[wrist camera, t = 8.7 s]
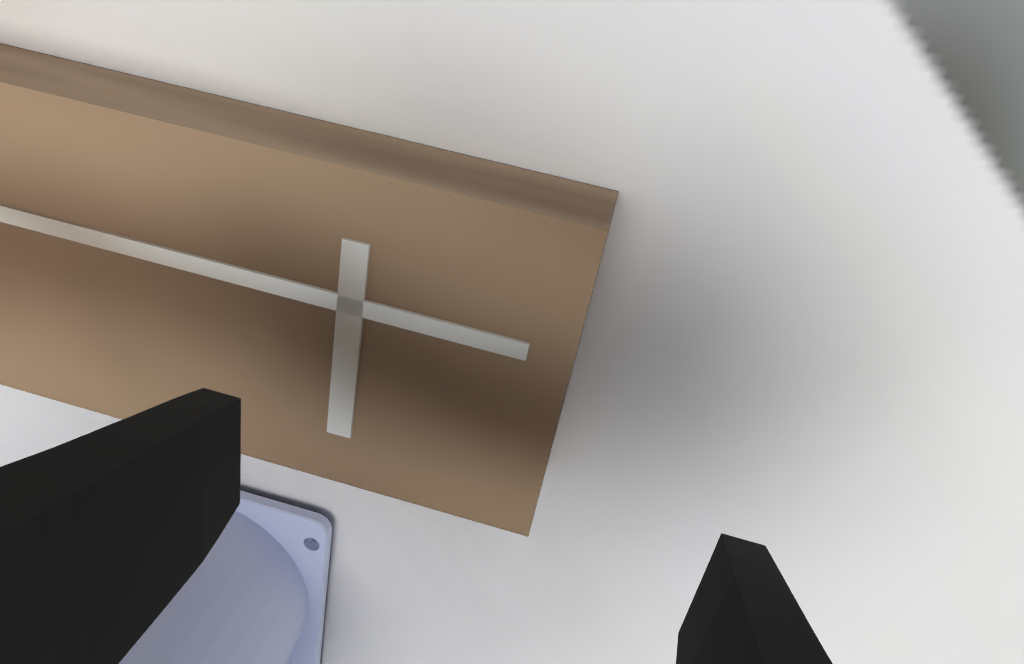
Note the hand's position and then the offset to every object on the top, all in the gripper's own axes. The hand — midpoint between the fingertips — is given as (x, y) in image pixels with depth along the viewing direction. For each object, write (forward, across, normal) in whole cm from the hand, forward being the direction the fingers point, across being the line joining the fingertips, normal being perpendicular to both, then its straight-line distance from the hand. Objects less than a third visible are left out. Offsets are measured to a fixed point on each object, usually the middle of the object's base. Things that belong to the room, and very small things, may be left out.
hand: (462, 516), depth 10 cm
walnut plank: (+8, +11, +1) cm, 14 cm away
